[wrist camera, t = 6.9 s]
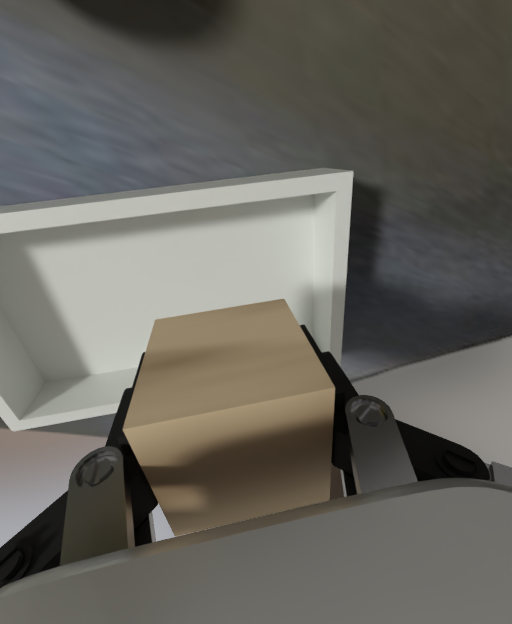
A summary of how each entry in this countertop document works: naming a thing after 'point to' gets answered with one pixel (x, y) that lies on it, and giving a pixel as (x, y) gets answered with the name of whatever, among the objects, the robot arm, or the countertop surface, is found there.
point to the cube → (232, 416)
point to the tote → (157, 278)
